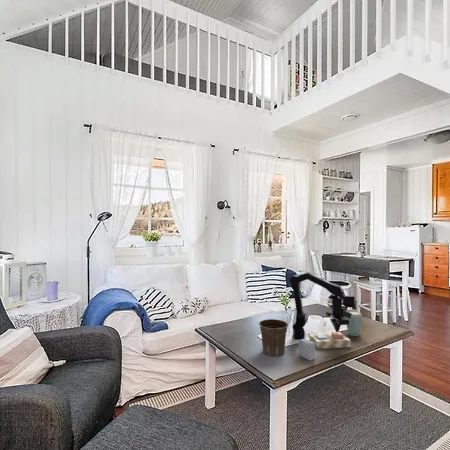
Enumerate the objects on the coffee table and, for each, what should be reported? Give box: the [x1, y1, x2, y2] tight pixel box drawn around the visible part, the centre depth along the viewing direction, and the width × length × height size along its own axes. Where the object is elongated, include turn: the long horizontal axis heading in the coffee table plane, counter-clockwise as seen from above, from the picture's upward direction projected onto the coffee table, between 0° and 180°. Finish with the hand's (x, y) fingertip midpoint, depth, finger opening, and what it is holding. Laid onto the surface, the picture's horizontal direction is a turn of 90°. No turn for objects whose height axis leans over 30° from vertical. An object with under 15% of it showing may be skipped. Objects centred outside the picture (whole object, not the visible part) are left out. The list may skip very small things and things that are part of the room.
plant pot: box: [258, 318, 289, 357], centre depth 173 cm, size 16×16×16 cm
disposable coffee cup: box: [344, 308, 363, 337], centre depth 198 cm, size 11×11×15 cm
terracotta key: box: [331, 331, 344, 339], centre depth 184 cm, size 5×5×3 cm
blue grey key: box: [316, 335, 327, 340], centre depth 183 cm, size 5×5×3 cm
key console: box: [309, 332, 351, 350], centre depth 183 cm, size 20×12×4 cm, turn 96°
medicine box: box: [298, 338, 316, 361], centre depth 165 cm, size 8×4×9 cm, turn 33°
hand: (337, 332), depth 184 cm, fingers closed
